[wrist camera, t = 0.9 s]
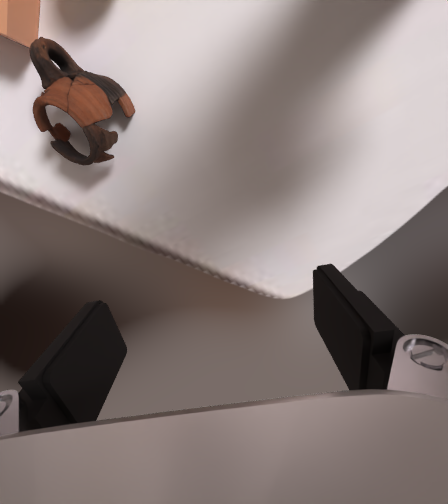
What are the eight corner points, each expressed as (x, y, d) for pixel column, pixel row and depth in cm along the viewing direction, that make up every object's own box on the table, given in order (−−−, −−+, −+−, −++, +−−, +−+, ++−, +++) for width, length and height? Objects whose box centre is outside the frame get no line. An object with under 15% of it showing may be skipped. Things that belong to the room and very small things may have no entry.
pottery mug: (155, 131, 31) (118, 161, 26) (110, 151, 36) (72, 180, 31) (87, 13, 24) (18, 21, 19) (43, 58, 29) (-22, 74, 24)
